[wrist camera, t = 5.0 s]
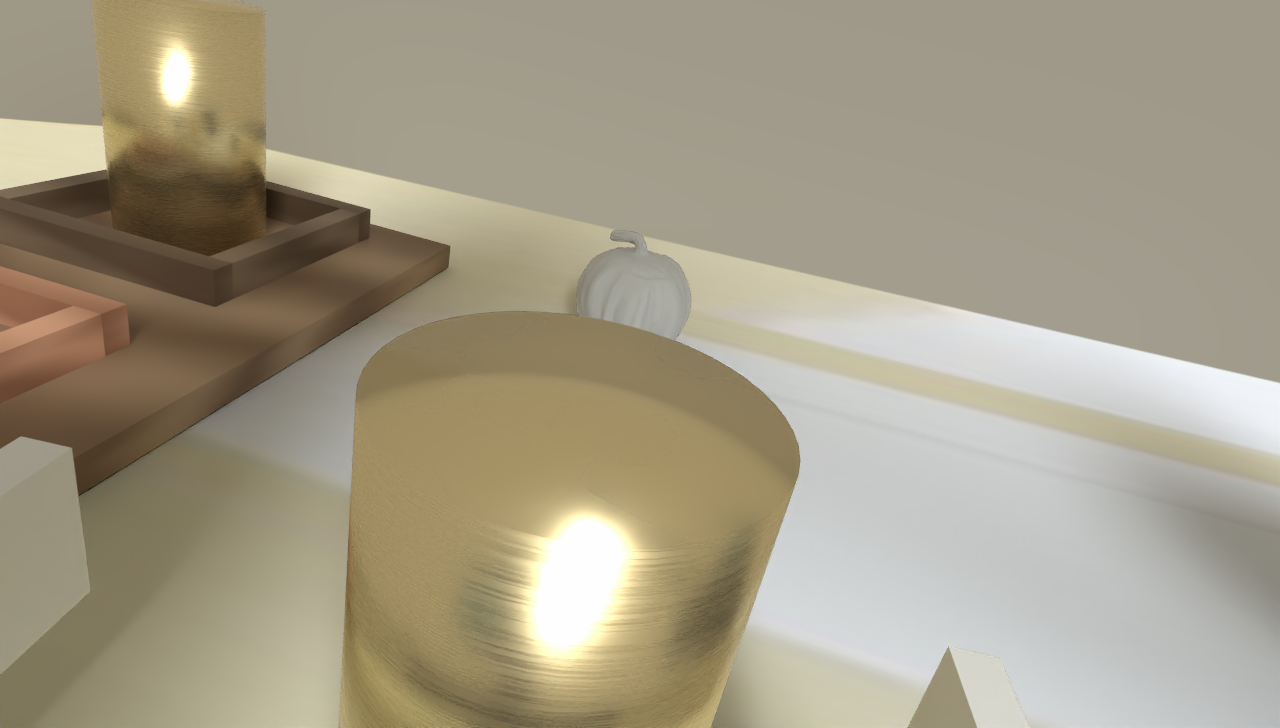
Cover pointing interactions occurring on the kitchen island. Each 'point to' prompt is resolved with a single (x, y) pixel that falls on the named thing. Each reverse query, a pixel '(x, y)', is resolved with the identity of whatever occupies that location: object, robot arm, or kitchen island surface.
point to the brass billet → (554, 526)
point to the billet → (184, 119)
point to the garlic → (635, 288)
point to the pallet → (172, 313)
